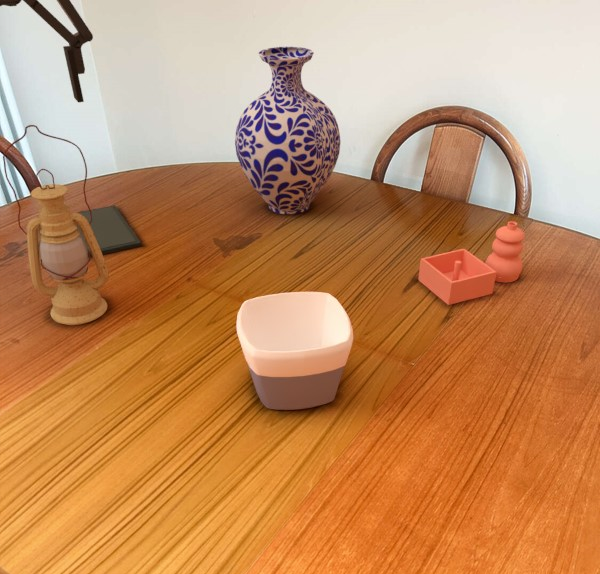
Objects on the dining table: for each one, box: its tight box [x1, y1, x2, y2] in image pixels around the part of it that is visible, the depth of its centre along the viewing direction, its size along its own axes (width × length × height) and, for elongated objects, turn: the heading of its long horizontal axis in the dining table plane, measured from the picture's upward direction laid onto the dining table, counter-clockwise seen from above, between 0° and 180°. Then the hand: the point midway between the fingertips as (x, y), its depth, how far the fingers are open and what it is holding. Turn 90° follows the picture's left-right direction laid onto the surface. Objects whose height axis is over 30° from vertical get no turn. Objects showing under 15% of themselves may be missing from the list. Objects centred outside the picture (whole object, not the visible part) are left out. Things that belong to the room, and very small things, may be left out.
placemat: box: [74, 204, 143, 259], centre depth 132 cm, size 16×20×1 cm
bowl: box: [235, 291, 354, 411], centre depth 90 cm, size 15×15×11 cm
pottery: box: [417, 221, 525, 306], centre depth 114 cm, size 18×10×10 cm, turn 114°
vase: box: [234, 46, 341, 215], centre depth 133 cm, size 22×22×30 cm
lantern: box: [2, 124, 110, 326], centre depth 101 cm, size 12×10×30 cm
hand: (28, 107), depth 90 cm, fingers open, 13 cm apart
